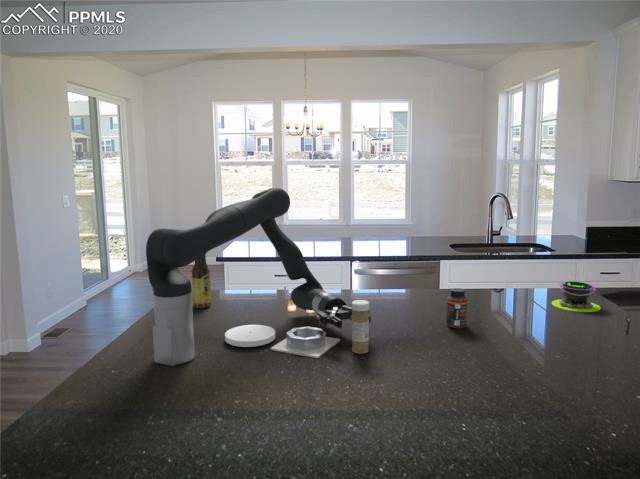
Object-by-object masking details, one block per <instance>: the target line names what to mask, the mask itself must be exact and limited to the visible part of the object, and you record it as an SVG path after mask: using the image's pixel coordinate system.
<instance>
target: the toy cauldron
mask: <svg viewBox="0 0 640 479" xmlns="http://www.w3.org/2000/svg"><path fill="white" fill-rule="evenodd" d="M576 274H581V273H578V272H577V273H576ZM570 275H573V273H570ZM577 276H578V275H575V277H577ZM585 278H586V277H585ZM586 279H587V280H588V281H587V283H585V282H583V280H580V281H577V280H576V281H575V280H572V281H570V279H568V281H565V282H563V281H562V282H560V283H559V288H560V290H562V295H563V298H561V299H555V300H553V301H551V305H552V306H554V307H555V308H558V309H560V310H565V311H569V312H576V313H578V312H580V313H594V312H599V311H600V310H601V306H600V305H598V304H596V303H593V302H592V301H590V297H591V296H592V294H594V293H595V292H596V288H597V287H596V286H594V285H592V284H590V283H589V282H590V281H591V279H590V278H589V279H588V278H586ZM592 290H593V291H592Z"/></svg>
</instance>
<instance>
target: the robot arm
mask: <svg viewBox="0 0 640 479" xmlns="http://www.w3.org/2000/svg"><path fill="white" fill-rule="evenodd" d="M290 207H291V198H290V195H289V194H288V192H286V190H285V189H282V188H280V187H271V188H267V189H266V190H263V191H260V192H258V193H256V194H254V195H253V196H252V197H251V198H250V199H247V200H242V201H240V202H235V203H233V204H232V203H231V204H229V205H226V206H223V207H221V208H219V209H216V210H214V211H213V212H212V213H210V214H209V215H208V217H207V218H206V220H205V222H204V223H203V224H200V225H197V226H195V227H191V228H187V229H174V228H157V229H155V230H154V231H152V232H151V233H150V234H149V236H148V238H147V240H146V246H145V255H146V256H145V257H146V266H147V275H148V276H147V277H148V280H149V284H150V286H151V287H152V294H153V308H154V309H153V310H154V311H153V312H154V325H152V343H153V357H154V362H153V363H157V364H161V365H165V366H171V367H174V366H176V365H181V364H185V363H188V362H191V361H192V360H193V359H194V358H195V356H196V353H195V352H196V351H195V350H196V349H195V332H194V330H195V329H194V315H193V314H194V311H193V298H192V281H191V280H190V278H188V277H186V276H185V274H184V273H182V272H181V270H180V269H179V268H183V267H186V266H189V265H191V264H192V263H195V260H197V259H198V258H199V257H201V256H202V255H204V254H205V253H206V254H207V253H208V252H211V251H212V250H214V249H215V248H218V247H220V246H222V245H224V244H226V243H228V242H230V241H233V240H235V239H237V238H239V237H241V236H242V235H244V234H246V233H247V232H249V231H251V230H253V229H254V228H256V227H257V226H260V227H261V229H262V230H263V232H264V233H265V235H266V237H267V238H268V239H269V241H270V242H271V244H272V246H273V247H274V249H275V251H276V252H277V255H278V257H279V259H280V261H281V263H282V265H283V269H284V270H285V272H286V275H287V277H288V279H289V280H291V281H297V280H301V279H305V281H306V282H303V283H302V284H300V285H297V286H296V287H295V288H293V289H292V290H291V292H290V293H291V294H290V297H291V301H292V303H293V304H294V305H295V307H297V308H298V309H301V310H304V311H305V310H306V311H313V312H315V313H316V321H317V322H319V323H320V324H321V325H323V326H328V324H329V326H333V327H336V328H338V329H343V328H342V327H343V321H352V306H348V305H347V303H346V301H345V300H344V299H342V298H341V297H338V295H337V296H336V295H335V294H333V293H330V292H328V291H326V290H324V288H323V286H322V284H321V283H320V282H319V281H318V279H317V278H315V275H314V274H313V273H312V272H311V270H310V268H309V267H308V264H307V262H306V260H305V257H304V255H303V252H302V251H301V249H300V247H299V246H298V245H297V244H296V243H295V242H294V241H293V240H292V239H291V238H290V237H288V236H287V234H285V233H284V232H283V231H282V229H281V228H280V227H279V225H278V223H277V221H276V218H280V217H282V216H283V215H285V214H286V213H287V212H288V211H289V209H290ZM371 321H372V317H371V315H369V325H370V324H371Z"/></svg>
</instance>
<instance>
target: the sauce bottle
mask: <svg viewBox="0 0 640 479" xmlns="http://www.w3.org/2000/svg"><path fill="white" fill-rule="evenodd" d="M206 254H207V253H205V254H204V255H202V256H201V257H199V258H198V259H197V260H195V261H194V264H193V266H192V269H191V288H192V307H193V308H195V309H205V308H209V307H211V304H212V289H211V271H210V268H209V267H208V264H207V260H206V259H207V258H206V257H207V256H206Z"/></svg>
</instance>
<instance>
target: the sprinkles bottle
mask: <svg viewBox="0 0 640 479" xmlns="http://www.w3.org/2000/svg"><path fill="white" fill-rule="evenodd" d="M351 307H352V316H351V317H352V320H351V322H352V323H351V326H352V328H351V338H352V339H351V340H352V342H351V344H352V346H351V351H352V352H353V353H355V354H357V355H358V354H359V355H361V354H362V355H363V354H367V353H368V352H369V351H370V349H369V339H370V324H369V316H370V302H369V301H368V300H366V299H365V300H364V299H356V300H353V301H352V302H351Z"/></svg>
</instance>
